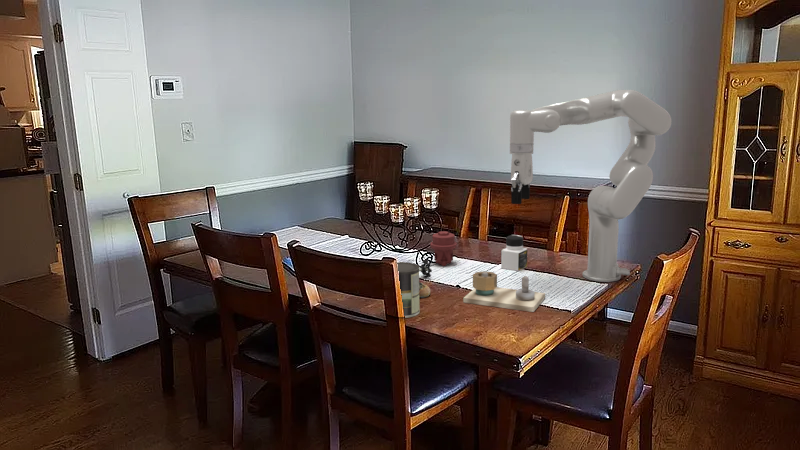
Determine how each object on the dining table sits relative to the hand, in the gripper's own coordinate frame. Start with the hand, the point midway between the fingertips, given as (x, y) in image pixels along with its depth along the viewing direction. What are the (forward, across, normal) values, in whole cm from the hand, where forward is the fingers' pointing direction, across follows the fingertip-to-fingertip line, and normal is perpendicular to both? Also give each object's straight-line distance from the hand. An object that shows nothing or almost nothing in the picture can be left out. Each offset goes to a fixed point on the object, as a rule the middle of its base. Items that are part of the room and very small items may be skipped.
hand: (520, 201), depth 203 cm
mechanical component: (+28, +13, +33) cm, 46 cm away
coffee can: (+28, -40, +24) cm, 55 cm away
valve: (+29, -10, +36) cm, 47 cm away
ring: (+25, -18, +6) cm, 31 cm away
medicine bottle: (+28, +18, +7) cm, 34 cm away
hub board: (+28, -18, 0) cm, 34 cm away
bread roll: (+29, -23, +28) cm, 46 cm away
